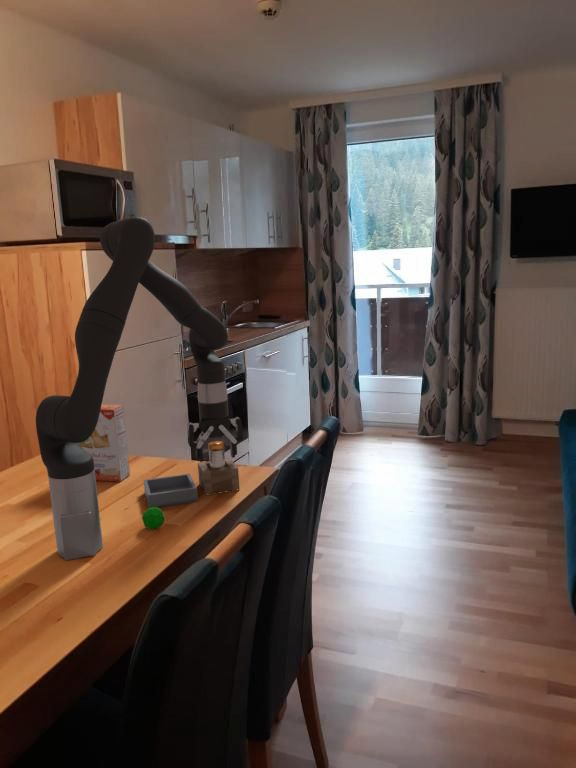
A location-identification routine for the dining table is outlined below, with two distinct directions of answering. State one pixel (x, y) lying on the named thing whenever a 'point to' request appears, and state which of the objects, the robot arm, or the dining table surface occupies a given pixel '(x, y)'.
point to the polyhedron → (153, 518)
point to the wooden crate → (218, 477)
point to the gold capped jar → (216, 455)
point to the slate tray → (170, 490)
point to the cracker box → (109, 445)
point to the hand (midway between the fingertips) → (217, 458)
